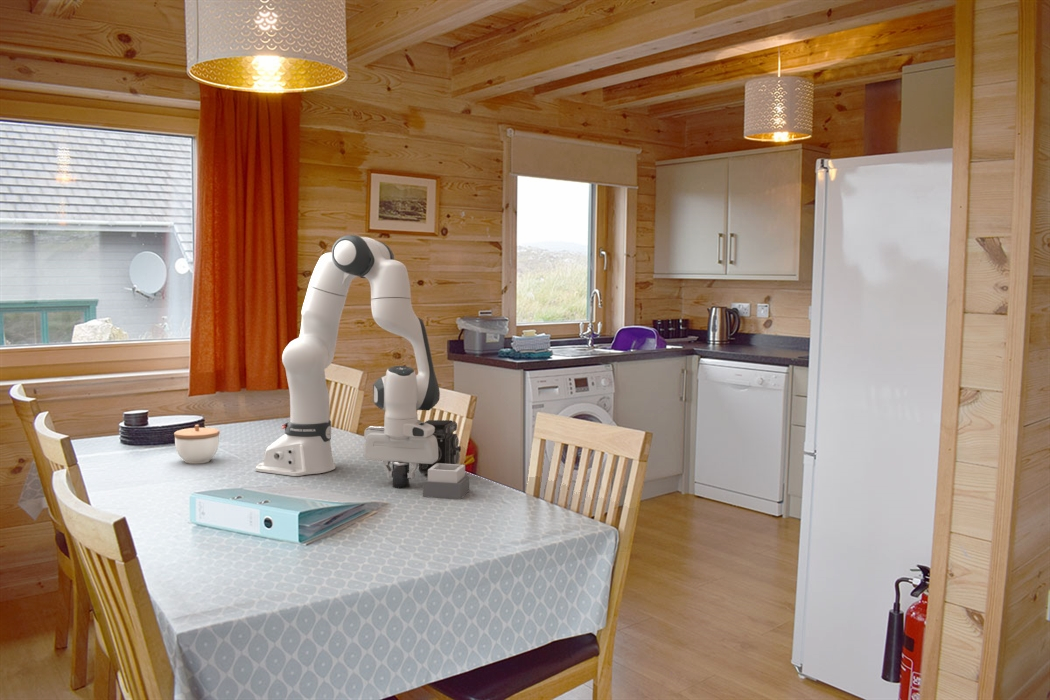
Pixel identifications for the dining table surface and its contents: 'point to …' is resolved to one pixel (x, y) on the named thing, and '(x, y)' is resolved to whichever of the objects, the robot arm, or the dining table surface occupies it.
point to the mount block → (446, 481)
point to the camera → (444, 444)
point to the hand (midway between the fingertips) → (400, 477)
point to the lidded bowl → (197, 444)
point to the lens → (400, 475)
